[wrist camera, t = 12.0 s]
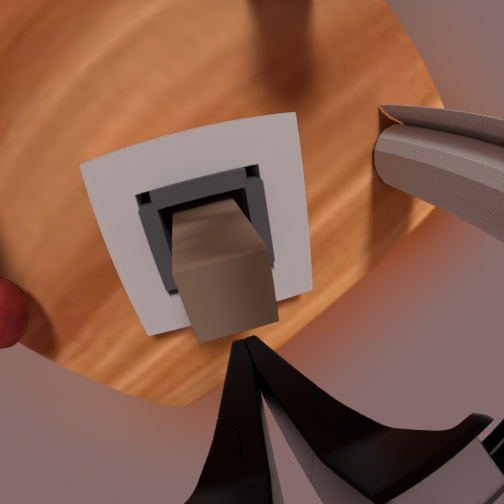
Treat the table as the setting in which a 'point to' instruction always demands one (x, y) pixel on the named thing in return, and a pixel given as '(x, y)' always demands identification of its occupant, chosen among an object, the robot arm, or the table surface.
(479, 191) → the paper towel roll
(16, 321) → the onion
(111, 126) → the table surface
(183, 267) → the walnut peg
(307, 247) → the collar block
